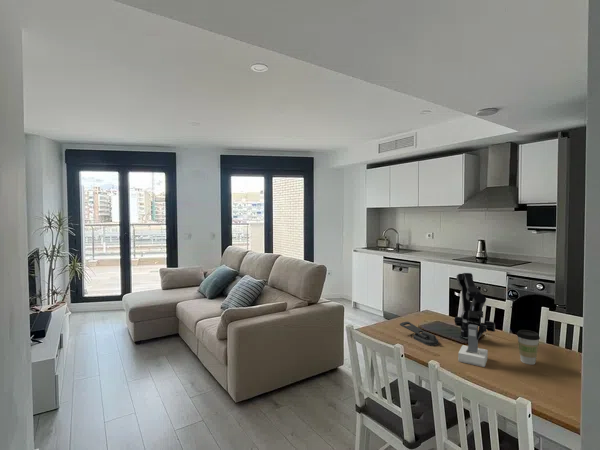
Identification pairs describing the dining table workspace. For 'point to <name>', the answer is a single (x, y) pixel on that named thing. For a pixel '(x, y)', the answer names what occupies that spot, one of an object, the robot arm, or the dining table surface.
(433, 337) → the zipper pull
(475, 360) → the block
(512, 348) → the dining table surface
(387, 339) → the dining table surface
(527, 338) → the coffee cup
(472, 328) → the bracket post
